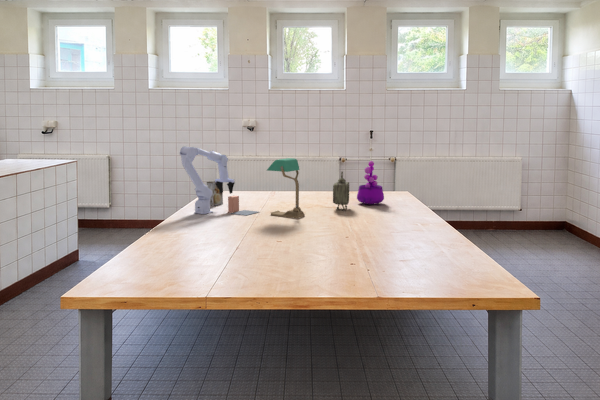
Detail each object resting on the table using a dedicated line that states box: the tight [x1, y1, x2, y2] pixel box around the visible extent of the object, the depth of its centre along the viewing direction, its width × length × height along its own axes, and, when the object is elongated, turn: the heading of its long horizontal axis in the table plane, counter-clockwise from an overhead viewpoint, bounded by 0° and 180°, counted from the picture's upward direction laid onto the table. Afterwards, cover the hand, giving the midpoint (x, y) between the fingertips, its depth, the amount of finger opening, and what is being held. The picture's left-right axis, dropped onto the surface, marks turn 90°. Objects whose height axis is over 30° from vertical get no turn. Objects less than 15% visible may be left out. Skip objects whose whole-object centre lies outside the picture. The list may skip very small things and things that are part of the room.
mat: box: [230, 209, 260, 217], centre depth 358 cm, size 14×12×1 cm
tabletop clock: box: [332, 170, 350, 211], centre depth 372 cm, size 14×9×25 cm, turn 168°
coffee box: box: [206, 180, 224, 207], centre depth 389 cm, size 9×6×16 cm
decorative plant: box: [356, 160, 385, 205], centre depth 393 cm, size 19×18×30 cm
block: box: [227, 195, 240, 214], centre depth 362 cm, size 6×4×10 cm, turn 150°
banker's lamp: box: [266, 157, 306, 219], centre depth 347 cm, size 16×21×35 cm
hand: (226, 193), depth 370 cm, fingers open, 7 cm apart
